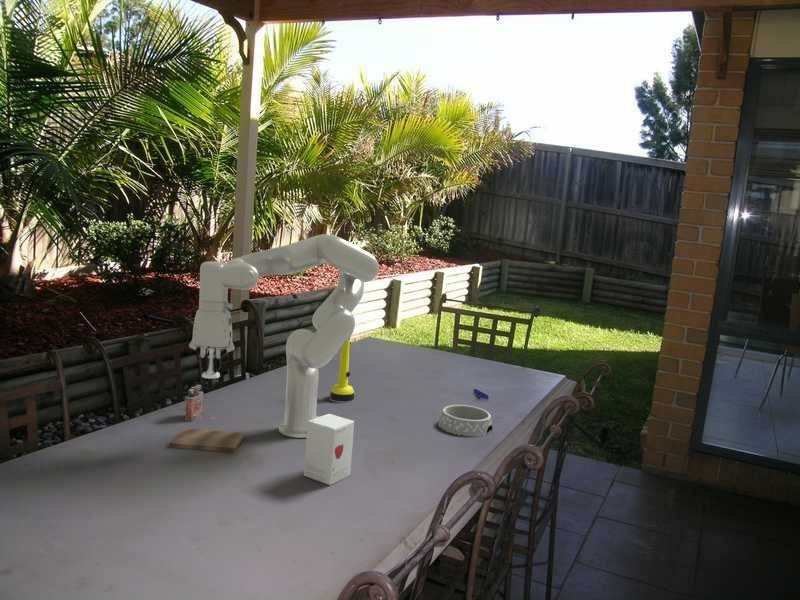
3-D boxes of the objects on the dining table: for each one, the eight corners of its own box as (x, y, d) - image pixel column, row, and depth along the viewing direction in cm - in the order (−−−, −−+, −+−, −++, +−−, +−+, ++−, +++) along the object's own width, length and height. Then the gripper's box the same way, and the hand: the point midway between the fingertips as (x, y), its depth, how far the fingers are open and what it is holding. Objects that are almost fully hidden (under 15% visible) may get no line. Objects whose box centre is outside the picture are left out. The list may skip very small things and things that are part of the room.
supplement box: (330, 486, 162) (334, 429, 159) (302, 476, 166) (306, 420, 164) (351, 475, 169) (355, 420, 167) (324, 465, 174) (328, 412, 172)
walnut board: (244, 436, 190) (244, 432, 190) (234, 452, 178) (234, 447, 178) (183, 432, 190) (183, 428, 190) (169, 447, 178) (169, 443, 178)
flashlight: (329, 331, 228) (352, 335, 225) (341, 328, 236) (363, 331, 233) (325, 399, 232) (347, 404, 228) (336, 393, 240) (358, 398, 237)
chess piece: (203, 373, 184) (204, 339, 182) (221, 374, 184) (222, 340, 183) (200, 378, 179) (201, 342, 177) (218, 379, 179) (219, 343, 178)
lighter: (192, 422, 198) (193, 391, 197) (182, 420, 199) (183, 389, 198) (205, 414, 206) (206, 384, 205) (195, 413, 207) (196, 383, 206)
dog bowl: (497, 425, 219) (499, 410, 219) (480, 441, 203) (482, 424, 202) (451, 415, 227) (452, 400, 226) (430, 429, 210) (432, 413, 209)
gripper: (245, 306, 182) (242, 369, 185) (188, 302, 182) (186, 365, 185) (238, 310, 175) (236, 376, 178) (179, 306, 175) (178, 372, 177)
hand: (211, 370), depth 181 cm, fingers closed on chess piece
